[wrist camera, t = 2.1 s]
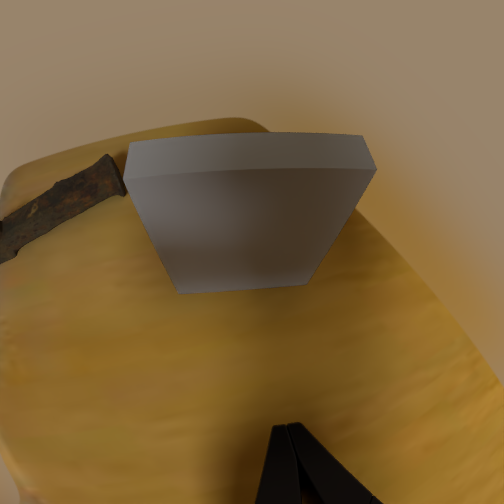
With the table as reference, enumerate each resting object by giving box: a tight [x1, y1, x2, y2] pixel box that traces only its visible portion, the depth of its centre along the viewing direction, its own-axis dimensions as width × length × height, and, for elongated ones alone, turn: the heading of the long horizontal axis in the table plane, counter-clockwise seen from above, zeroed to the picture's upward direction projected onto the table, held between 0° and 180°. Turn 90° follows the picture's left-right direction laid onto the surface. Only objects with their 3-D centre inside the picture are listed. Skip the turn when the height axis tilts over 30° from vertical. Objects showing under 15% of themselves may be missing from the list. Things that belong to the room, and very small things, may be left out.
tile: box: [123, 132, 377, 294], centre depth 18 cm, size 2×10×14 cm, turn 96°
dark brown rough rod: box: [0, 154, 125, 264], centre depth 23 cm, size 19×4×5 cm, turn 119°
